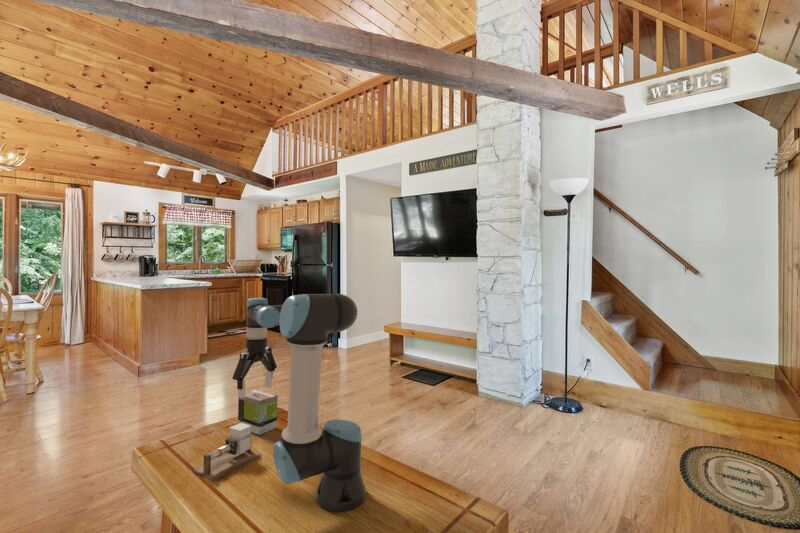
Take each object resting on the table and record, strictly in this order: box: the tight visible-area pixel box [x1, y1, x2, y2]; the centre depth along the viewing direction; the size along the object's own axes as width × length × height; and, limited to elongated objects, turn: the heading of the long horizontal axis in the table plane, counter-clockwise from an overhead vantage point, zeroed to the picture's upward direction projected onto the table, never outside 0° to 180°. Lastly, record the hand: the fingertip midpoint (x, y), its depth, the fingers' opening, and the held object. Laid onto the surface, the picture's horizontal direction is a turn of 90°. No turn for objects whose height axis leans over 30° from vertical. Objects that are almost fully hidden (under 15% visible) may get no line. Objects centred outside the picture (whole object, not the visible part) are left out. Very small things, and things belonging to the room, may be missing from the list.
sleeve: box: [229, 423, 252, 454], centre depth 143 cm, size 5×5×9 cm
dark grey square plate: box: [224, 437, 237, 455], centre depth 139 cm, size 5×1×5 cm, turn 64°
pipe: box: [208, 441, 238, 460], centre depth 138 cm, size 3×16×3 cm, turn 154°
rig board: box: [192, 446, 262, 482], centre depth 138 cm, size 12×19×7 cm, turn 154°
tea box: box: [237, 388, 279, 436], centre depth 169 cm, size 15×10×15 cm, turn 58°
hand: (255, 392), depth 149 cm, fingers open, 13 cm apart
